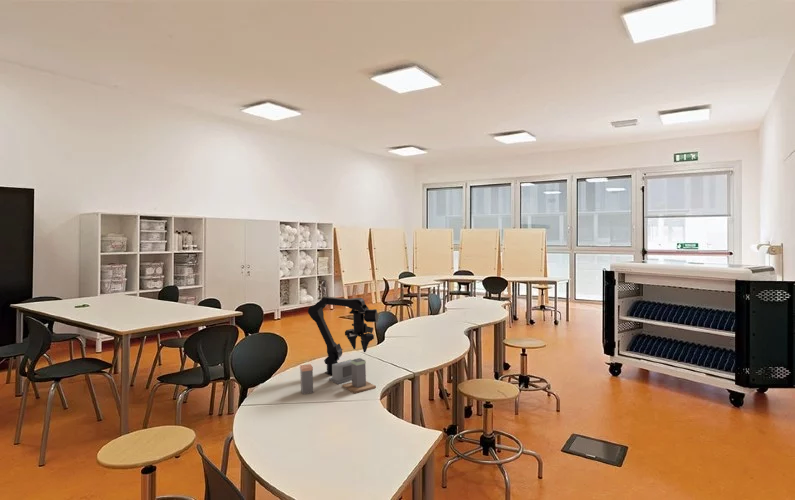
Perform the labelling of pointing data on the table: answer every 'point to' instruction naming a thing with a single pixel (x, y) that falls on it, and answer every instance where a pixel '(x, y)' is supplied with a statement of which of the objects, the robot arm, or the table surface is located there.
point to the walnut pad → (359, 389)
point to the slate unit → (341, 372)
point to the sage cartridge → (358, 372)
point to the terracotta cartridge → (306, 378)
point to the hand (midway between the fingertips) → (359, 350)
